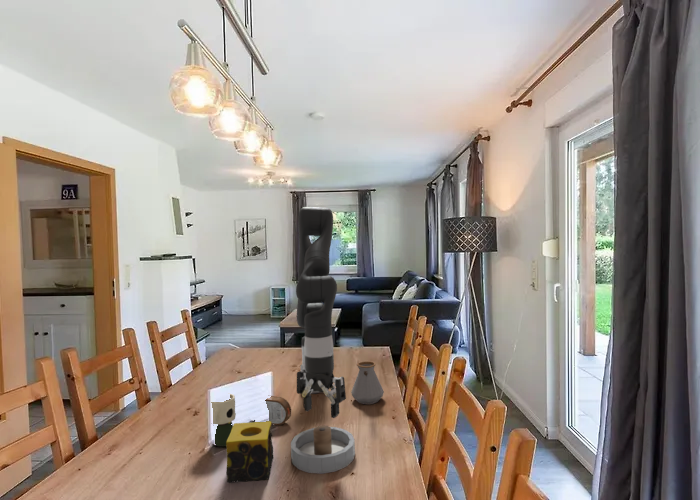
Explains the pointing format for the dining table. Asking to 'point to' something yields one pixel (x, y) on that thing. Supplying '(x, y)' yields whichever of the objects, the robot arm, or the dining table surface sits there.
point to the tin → (278, 410)
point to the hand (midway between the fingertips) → (321, 413)
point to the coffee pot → (367, 384)
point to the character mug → (223, 419)
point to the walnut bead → (322, 440)
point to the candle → (249, 452)
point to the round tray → (323, 463)
